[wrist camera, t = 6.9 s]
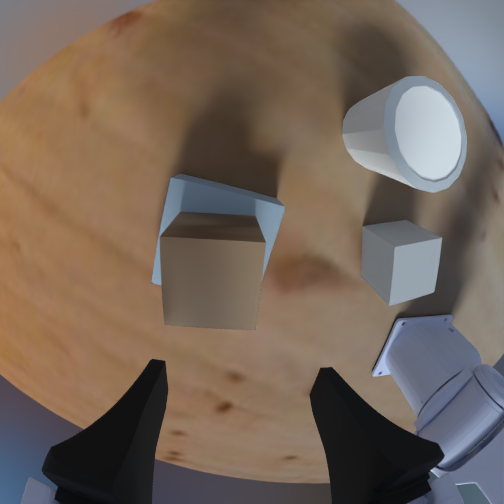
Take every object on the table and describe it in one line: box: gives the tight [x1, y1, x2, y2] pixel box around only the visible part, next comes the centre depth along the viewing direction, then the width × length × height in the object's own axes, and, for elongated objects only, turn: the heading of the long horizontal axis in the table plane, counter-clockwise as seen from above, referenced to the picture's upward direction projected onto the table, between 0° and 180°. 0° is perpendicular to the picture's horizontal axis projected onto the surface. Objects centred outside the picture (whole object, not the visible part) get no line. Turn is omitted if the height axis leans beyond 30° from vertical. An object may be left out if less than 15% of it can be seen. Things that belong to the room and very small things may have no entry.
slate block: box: [152, 174, 286, 285], centre depth 18 cm, size 7×7×4 cm
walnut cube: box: [160, 212, 266, 330], centre depth 14 cm, size 4×4×5 cm
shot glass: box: [342, 76, 467, 193], centre depth 14 cm, size 7×7×7 cm
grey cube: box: [361, 220, 442, 306], centre depth 19 cm, size 4×4×5 cm
